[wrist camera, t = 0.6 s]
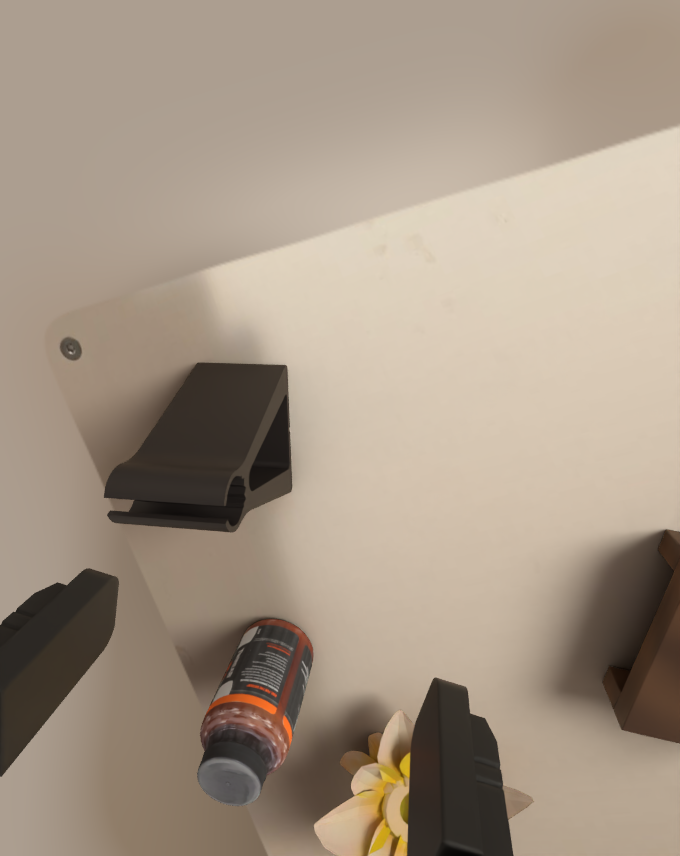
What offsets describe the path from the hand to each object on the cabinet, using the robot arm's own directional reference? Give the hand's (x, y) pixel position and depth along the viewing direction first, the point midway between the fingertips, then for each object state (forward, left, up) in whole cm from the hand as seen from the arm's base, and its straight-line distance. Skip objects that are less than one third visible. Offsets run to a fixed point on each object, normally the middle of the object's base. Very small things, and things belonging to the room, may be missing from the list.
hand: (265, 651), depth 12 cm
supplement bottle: (+21, -4, -22) cm, 31 cm away
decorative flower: (+30, +10, -22) cm, 39 cm away
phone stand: (+3, -8, -22) cm, 24 cm away
